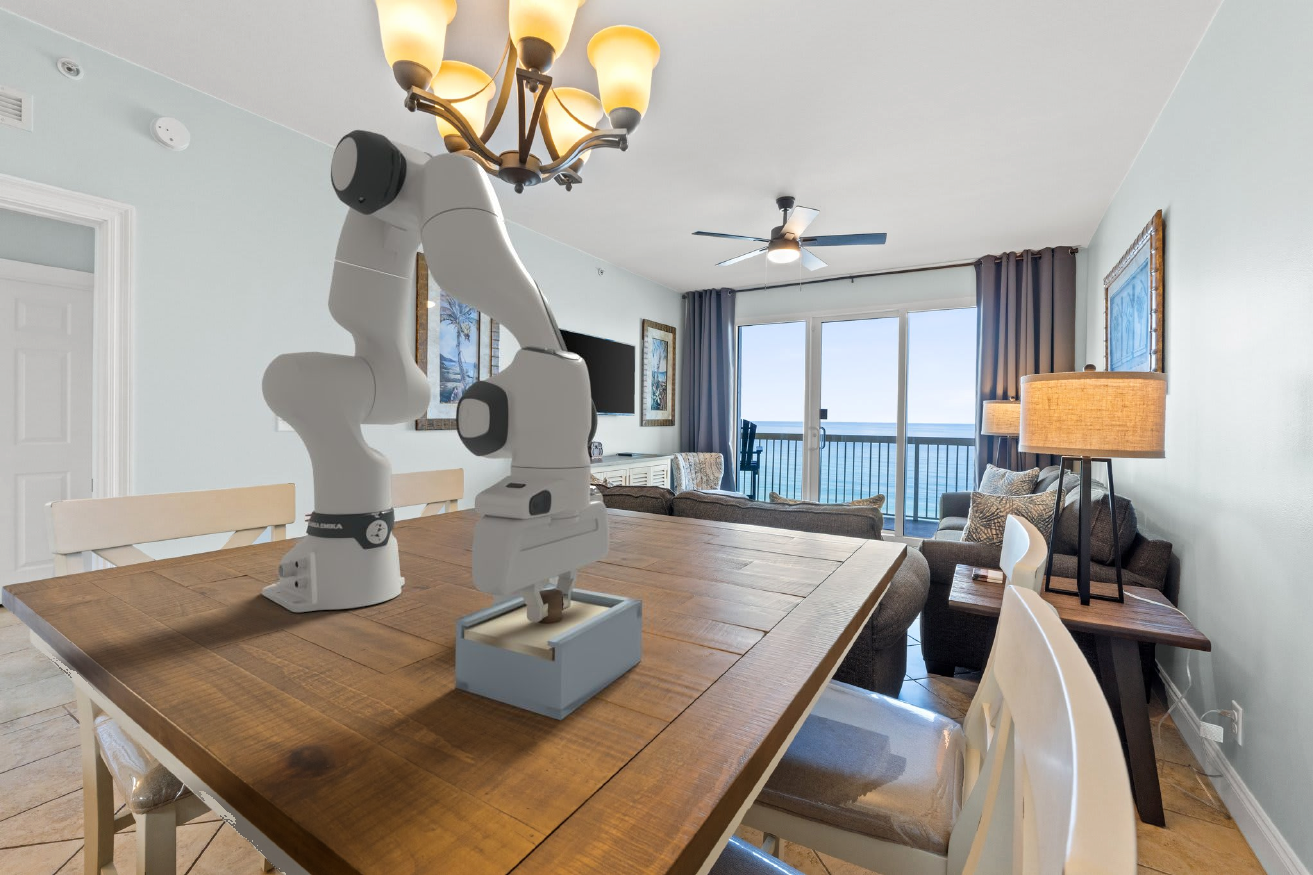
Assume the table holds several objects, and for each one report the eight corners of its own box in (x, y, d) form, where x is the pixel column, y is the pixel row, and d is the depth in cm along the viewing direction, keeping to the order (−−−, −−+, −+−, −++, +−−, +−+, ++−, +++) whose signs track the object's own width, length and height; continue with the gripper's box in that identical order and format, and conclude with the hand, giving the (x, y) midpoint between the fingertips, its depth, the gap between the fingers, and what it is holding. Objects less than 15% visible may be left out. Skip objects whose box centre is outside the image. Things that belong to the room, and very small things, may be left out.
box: (455, 687, 61) (456, 619, 61) (548, 639, 75) (549, 583, 75) (560, 720, 55) (561, 643, 54) (641, 660, 69) (642, 600, 69)
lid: (464, 638, 60) (464, 601, 60) (547, 603, 73) (547, 572, 73) (551, 660, 55) (552, 619, 55) (625, 618, 67) (625, 585, 67)
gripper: (580, 482, 74) (579, 587, 75) (461, 498, 56) (460, 637, 56) (622, 485, 71) (620, 594, 72) (511, 503, 53) (509, 649, 53)
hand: (549, 614), depth 64 cm, fingers closed on lid, 3 cm apart
